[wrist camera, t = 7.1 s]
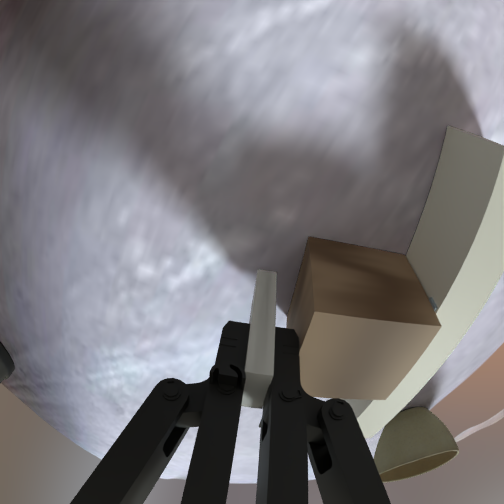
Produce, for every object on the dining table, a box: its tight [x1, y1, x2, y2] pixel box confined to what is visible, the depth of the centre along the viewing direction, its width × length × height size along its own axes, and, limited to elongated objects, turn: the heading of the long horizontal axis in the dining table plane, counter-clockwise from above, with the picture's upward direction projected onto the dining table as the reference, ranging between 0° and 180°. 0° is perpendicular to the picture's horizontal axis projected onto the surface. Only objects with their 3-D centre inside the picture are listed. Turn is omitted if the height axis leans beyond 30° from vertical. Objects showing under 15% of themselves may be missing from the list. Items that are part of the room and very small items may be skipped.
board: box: [342, 126, 504, 438], centre depth 15 cm, size 3×22×5 cm, turn 173°
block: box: [286, 236, 442, 400], centre depth 14 cm, size 6×6×6 cm
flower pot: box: [373, 407, 459, 483], centre depth 22 cm, size 10×10×7 cm
